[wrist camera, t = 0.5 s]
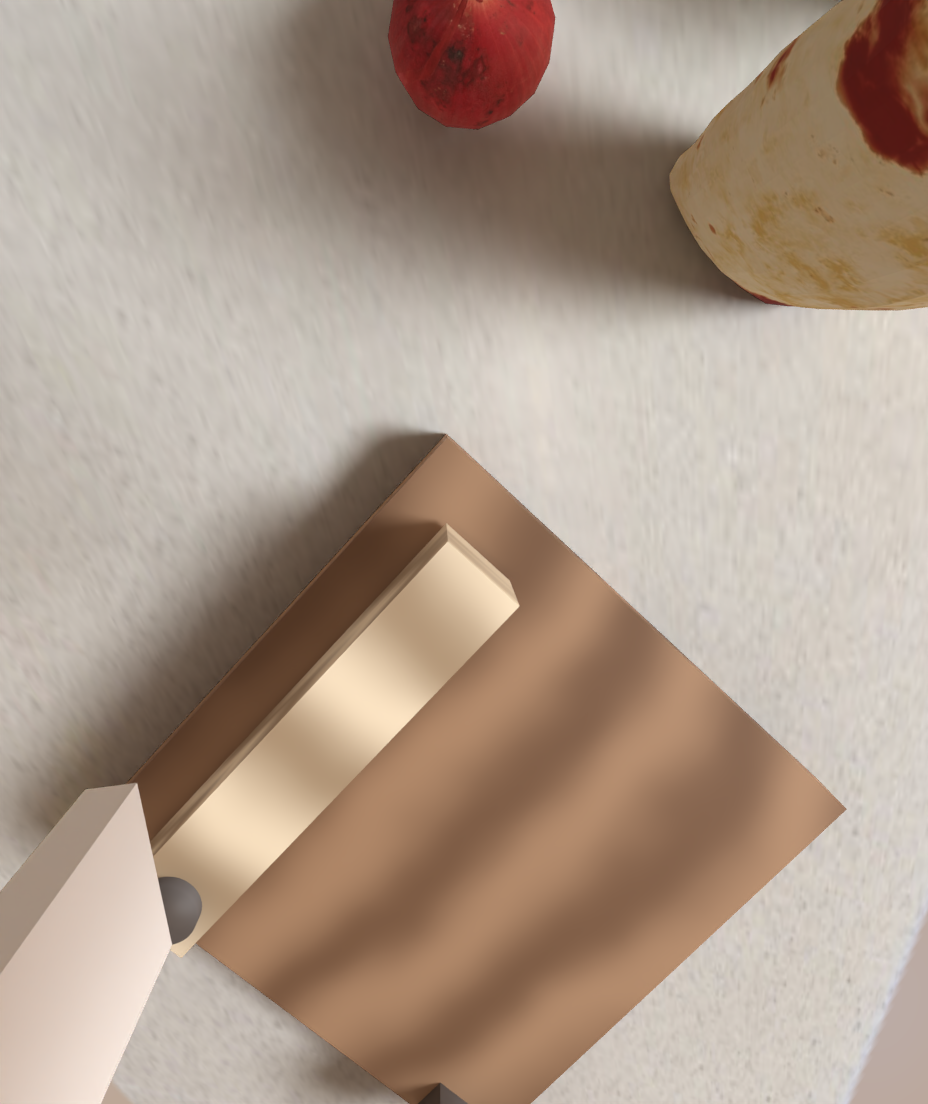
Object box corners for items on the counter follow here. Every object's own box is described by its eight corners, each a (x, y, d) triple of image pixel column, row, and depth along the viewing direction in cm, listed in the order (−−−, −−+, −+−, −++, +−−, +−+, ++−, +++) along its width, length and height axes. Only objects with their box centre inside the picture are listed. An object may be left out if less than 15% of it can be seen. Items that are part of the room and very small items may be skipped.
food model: (619, 235, 34) (866, 29, 15) (713, 90, 33) (1114, -343, 14) (803, 367, 35) (1257, 340, 16) (899, 230, 34) (1510, 22, 15)
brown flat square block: (98, 814, 38) (31, 898, 32) (446, 433, 35) (448, 443, 29) (473, 1100, 42) (480, 1227, 36) (815, 777, 39) (889, 853, 33)
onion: (494, 180, 34) (512, 116, 26) (369, 105, 33) (348, 16, 25) (565, 44, 33) (606, -65, 25) (438, -36, 32) (439, -175, 24)
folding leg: (209, 895, 36) (175, 970, 31) (145, 846, 35) (101, 915, 30) (509, 580, 33) (521, 611, 29) (446, 522, 33) (447, 545, 28)
